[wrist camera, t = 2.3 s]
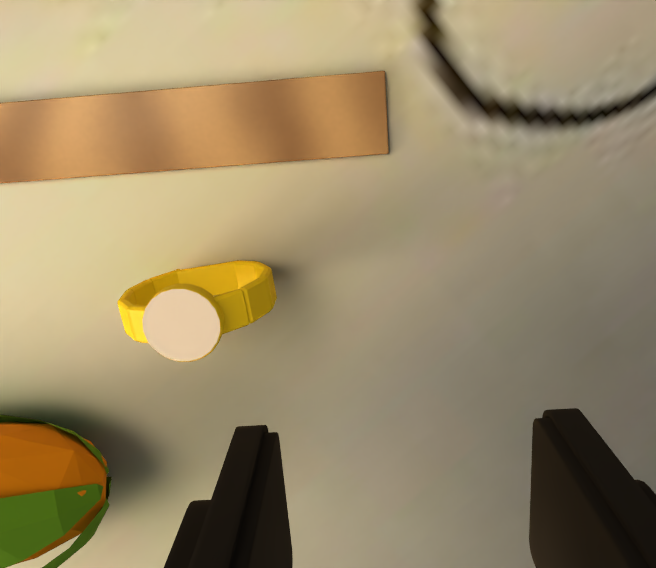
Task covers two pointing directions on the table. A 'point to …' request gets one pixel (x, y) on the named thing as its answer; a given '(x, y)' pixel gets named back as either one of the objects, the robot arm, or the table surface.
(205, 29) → the table surface
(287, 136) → the ruler
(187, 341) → the watch
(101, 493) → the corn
